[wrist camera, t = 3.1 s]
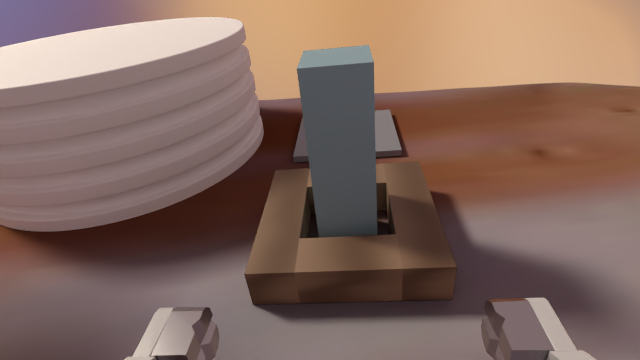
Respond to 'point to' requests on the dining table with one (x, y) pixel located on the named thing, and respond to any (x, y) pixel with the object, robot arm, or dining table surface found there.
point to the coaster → (384, 138)
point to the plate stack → (122, 120)
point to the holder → (351, 246)
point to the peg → (340, 138)
